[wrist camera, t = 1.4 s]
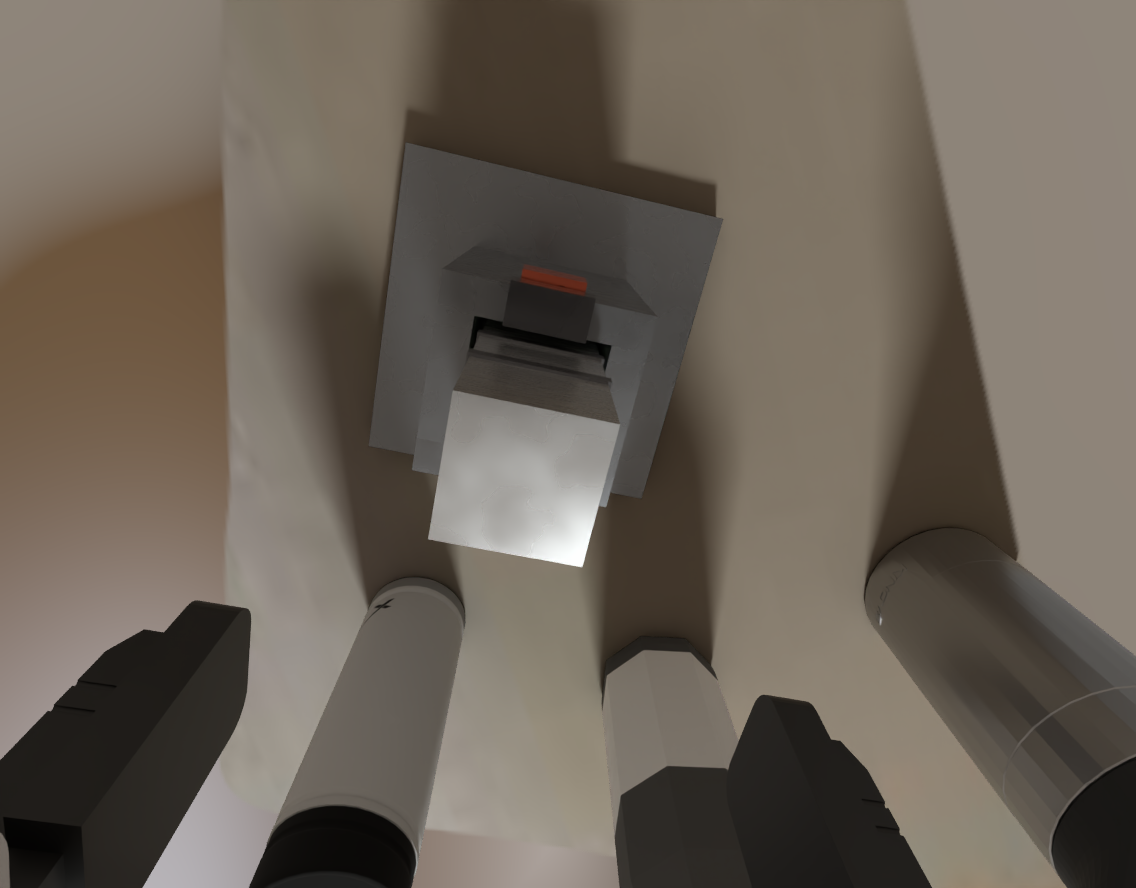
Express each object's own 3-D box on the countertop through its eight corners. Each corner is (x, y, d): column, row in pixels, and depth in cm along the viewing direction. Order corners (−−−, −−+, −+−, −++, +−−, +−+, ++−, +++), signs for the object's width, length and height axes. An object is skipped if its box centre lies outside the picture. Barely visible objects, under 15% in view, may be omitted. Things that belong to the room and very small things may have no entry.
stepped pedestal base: (716, 218, 34) (809, 232, 22) (638, 487, 40) (677, 620, 27) (411, 144, 33) (327, 115, 20) (375, 436, 38) (291, 553, 26)
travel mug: (365, 570, 41) (213, 880, 23) (469, 579, 42) (403, 891, 23) (364, 650, 44) (224, 992, 25) (462, 658, 44) (398, 1000, 25)
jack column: (588, 307, 34) (625, 421, 17) (568, 390, 35) (584, 570, 19) (500, 288, 33) (449, 385, 16) (485, 373, 35) (423, 541, 18)
